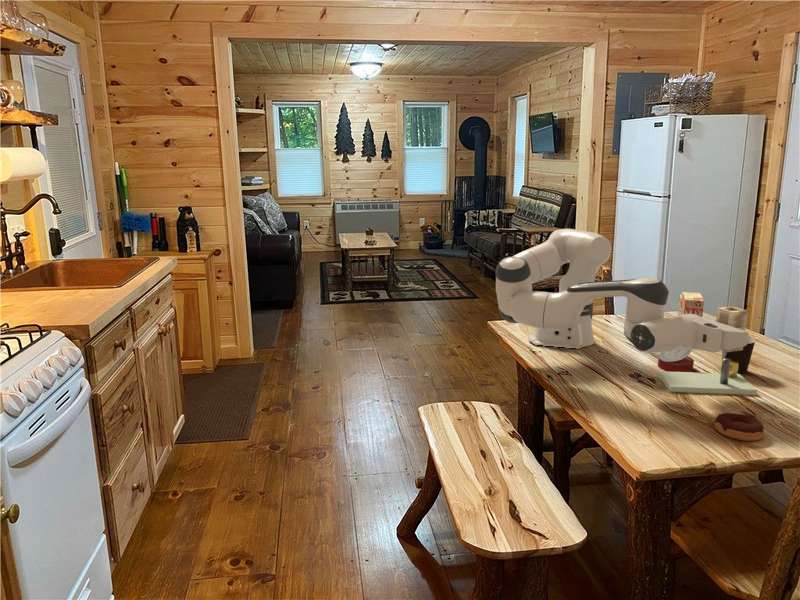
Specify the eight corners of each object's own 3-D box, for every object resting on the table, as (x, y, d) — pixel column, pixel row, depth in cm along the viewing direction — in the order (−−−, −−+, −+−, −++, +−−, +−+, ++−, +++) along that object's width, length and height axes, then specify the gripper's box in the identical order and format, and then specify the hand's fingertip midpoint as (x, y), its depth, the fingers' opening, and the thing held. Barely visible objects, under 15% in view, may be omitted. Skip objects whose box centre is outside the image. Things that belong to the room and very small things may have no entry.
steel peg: (721, 384, 162) (724, 360, 160) (718, 381, 164) (721, 358, 162) (729, 384, 161) (731, 360, 160) (726, 382, 163) (729, 358, 162)
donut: (767, 432, 137) (769, 417, 136) (758, 448, 130) (760, 431, 129) (720, 420, 144) (721, 405, 143) (708, 435, 137) (710, 419, 136)
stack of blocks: (677, 316, 235) (680, 286, 232) (694, 318, 233) (697, 287, 230) (681, 331, 215) (685, 299, 212) (700, 333, 213) (704, 300, 210)
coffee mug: (750, 378, 170) (754, 345, 168) (716, 372, 174) (720, 340, 172) (752, 365, 179) (756, 334, 177) (720, 361, 184) (723, 330, 182)
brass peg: (726, 377, 166) (728, 364, 165) (722, 373, 169) (724, 360, 169) (738, 378, 166) (740, 364, 165) (734, 374, 169) (736, 361, 168)
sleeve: (727, 352, 157) (732, 312, 155) (713, 346, 162) (717, 307, 159) (742, 350, 158) (747, 310, 156) (727, 344, 163) (732, 306, 161)
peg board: (670, 391, 161) (670, 386, 161) (658, 376, 173) (658, 371, 172) (756, 395, 158) (757, 389, 158) (738, 378, 170) (739, 373, 169)
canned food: (686, 388, 176) (687, 365, 170) (652, 376, 182) (652, 354, 176) (700, 363, 181) (701, 340, 175) (666, 353, 188) (667, 330, 182)
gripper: (662, 332, 166) (702, 327, 169) (719, 354, 147) (763, 348, 150) (664, 310, 164) (704, 306, 168) (722, 330, 145) (766, 325, 149)
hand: (733, 326), depth 159 cm, fingers closed on sleeve, 5 cm apart
